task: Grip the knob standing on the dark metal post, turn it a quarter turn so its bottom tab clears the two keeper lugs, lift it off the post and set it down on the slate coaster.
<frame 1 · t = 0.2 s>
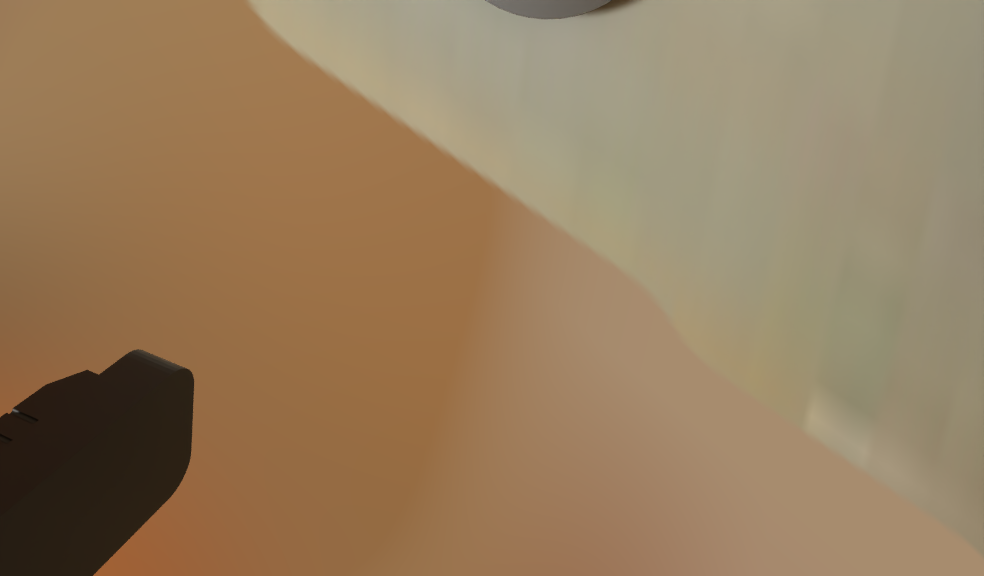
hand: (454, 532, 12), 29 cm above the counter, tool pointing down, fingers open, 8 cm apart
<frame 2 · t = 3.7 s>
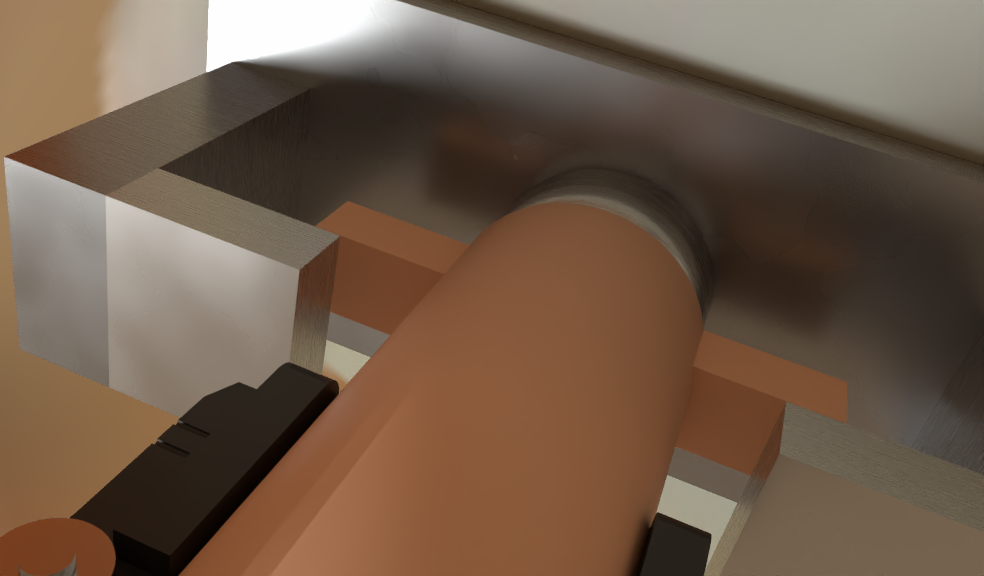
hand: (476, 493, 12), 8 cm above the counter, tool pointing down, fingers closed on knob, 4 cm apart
keeper post: (611, 254, 19), on the counter
knob: (572, 323, 16), point 3 cm above the counter, touching gripper, keeper post
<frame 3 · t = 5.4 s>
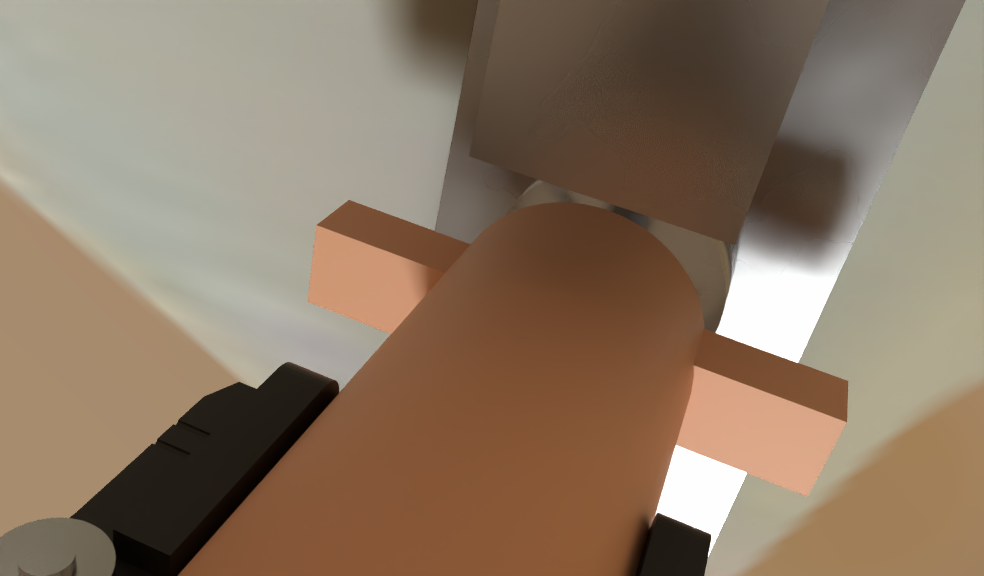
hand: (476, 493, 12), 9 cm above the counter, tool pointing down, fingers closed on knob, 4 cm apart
keeper post: (636, 222, 19), on the counter
knob: (573, 322, 16), point 4 cm above the counter, touching gripper
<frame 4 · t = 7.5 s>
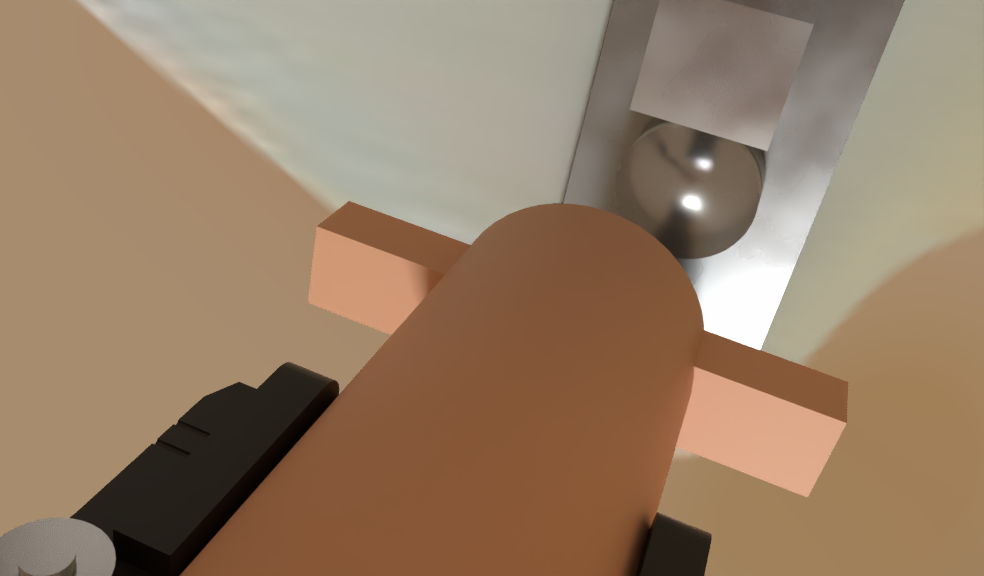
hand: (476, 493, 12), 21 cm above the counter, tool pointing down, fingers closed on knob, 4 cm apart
keeper post: (700, 162, 31), on the counter
knob: (573, 323, 16), point 16 cm above the counter, touching gripper
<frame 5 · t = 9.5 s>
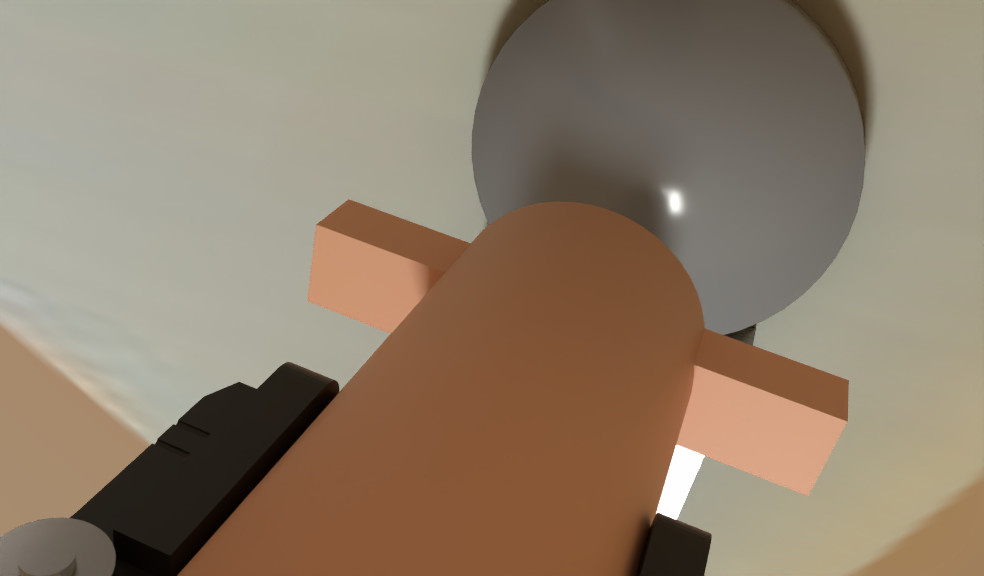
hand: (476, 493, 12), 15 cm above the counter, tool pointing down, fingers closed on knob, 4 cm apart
keeper post: (548, 501, 31), on the counter
coaster: (662, 155, 25), on the counter
knob: (573, 322, 16), point 10 cm above the counter, touching gripper
when the fingers open (7 cm above the counter, at t = 11.3 s): knob stays where it is, resting on coaster.
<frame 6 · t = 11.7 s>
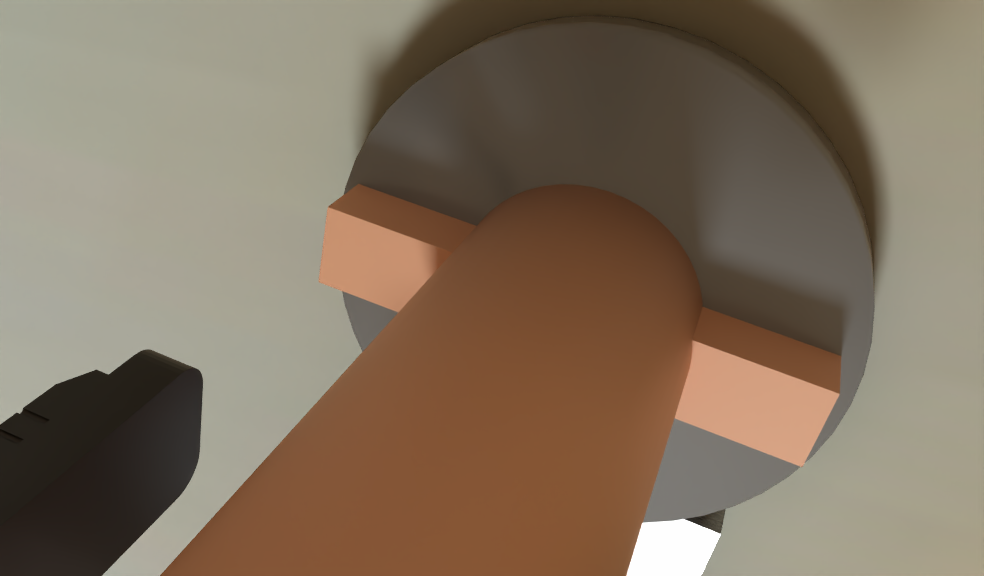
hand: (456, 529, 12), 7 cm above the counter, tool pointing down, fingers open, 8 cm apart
coaster: (596, 278, 18), on the counter
knob: (576, 302, 17), point 1 cm above the counter, touching coaster
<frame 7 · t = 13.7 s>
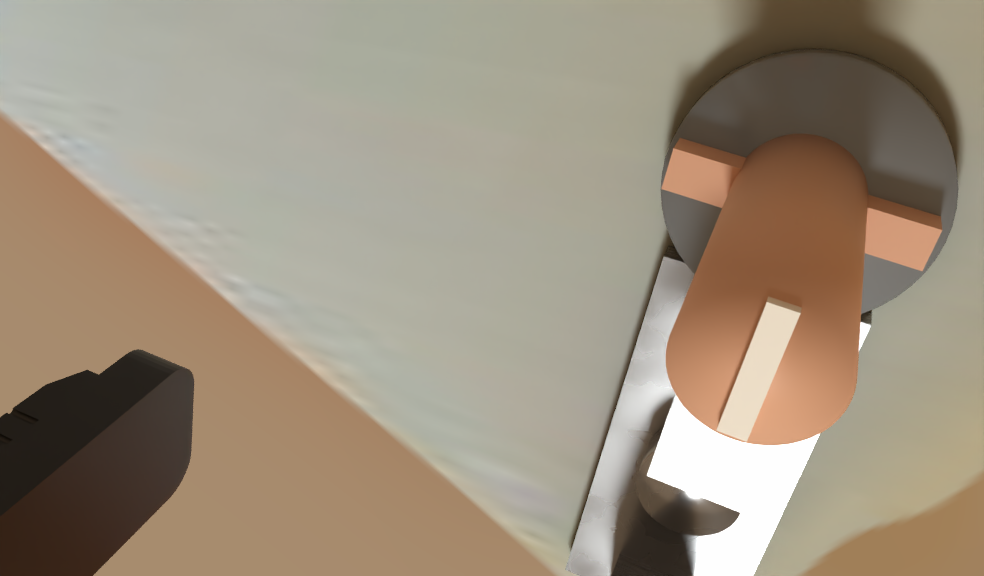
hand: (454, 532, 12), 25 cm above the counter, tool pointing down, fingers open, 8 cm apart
keeper post: (700, 451, 41), on the counter
coaster: (803, 186, 34), on the counter
knob: (798, 196, 33), point 1 cm above the counter, touching coaster
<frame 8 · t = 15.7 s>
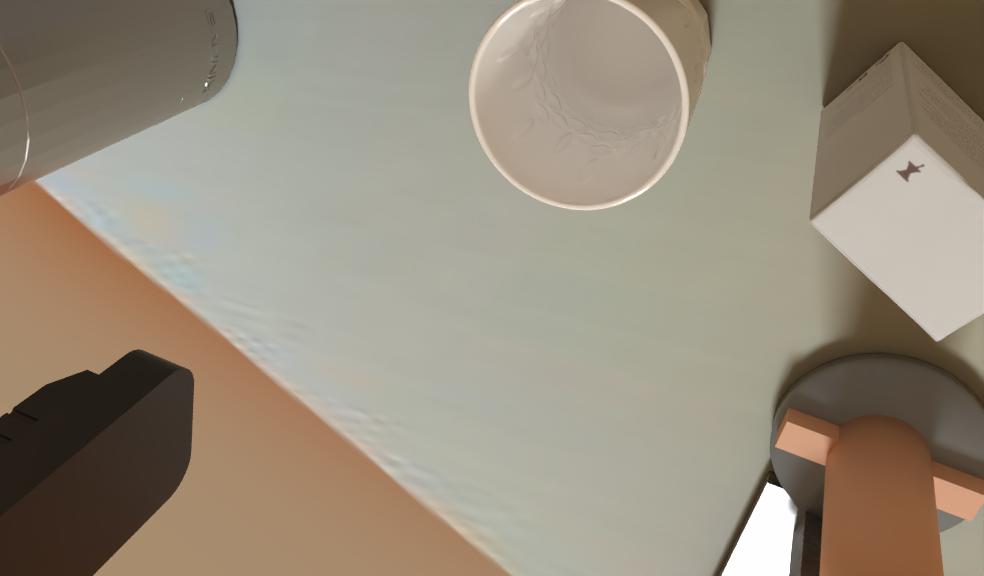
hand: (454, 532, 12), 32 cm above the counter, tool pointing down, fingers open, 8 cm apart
skincare box: (909, 125, 38), on the counter
white cup: (634, 40, 41), on the counter
coaster: (879, 442, 45), on the counter
knob: (877, 455, 44), point 1 cm above the counter, touching coaster
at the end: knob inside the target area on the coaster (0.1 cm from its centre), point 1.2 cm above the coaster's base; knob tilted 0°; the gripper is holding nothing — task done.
